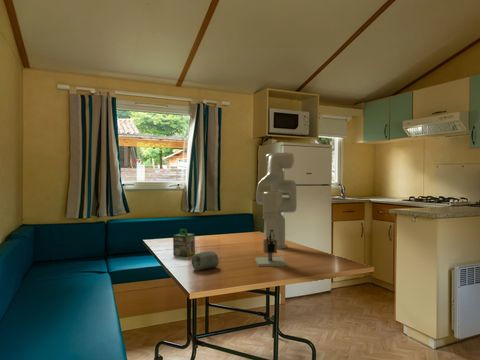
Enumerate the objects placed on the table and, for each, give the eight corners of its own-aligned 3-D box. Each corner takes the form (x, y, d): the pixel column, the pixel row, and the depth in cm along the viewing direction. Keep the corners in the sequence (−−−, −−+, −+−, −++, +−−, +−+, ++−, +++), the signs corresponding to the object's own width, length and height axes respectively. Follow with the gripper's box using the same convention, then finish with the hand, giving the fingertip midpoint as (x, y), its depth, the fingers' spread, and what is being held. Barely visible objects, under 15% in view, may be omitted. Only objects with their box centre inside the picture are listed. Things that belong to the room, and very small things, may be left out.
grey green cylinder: (196, 266, 154) (197, 245, 159) (187, 272, 161) (188, 251, 166) (222, 270, 161) (222, 249, 166) (213, 275, 168) (213, 255, 173)
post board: (255, 259, 182) (255, 244, 182) (281, 259, 183) (281, 244, 183) (258, 266, 168) (258, 249, 168) (286, 265, 169) (286, 249, 169)
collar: (263, 250, 178) (263, 239, 178) (274, 250, 179) (274, 239, 179) (265, 253, 172) (265, 241, 172) (276, 253, 173) (276, 241, 173)
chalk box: (195, 253, 197) (195, 228, 197) (186, 257, 188) (186, 230, 188) (182, 252, 201) (182, 227, 201) (172, 255, 192) (172, 229, 192)
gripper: (260, 214, 184) (260, 247, 184) (265, 217, 167) (265, 254, 167) (274, 214, 185) (274, 247, 184) (280, 217, 167) (280, 254, 167)
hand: (270, 250), depth 176 cm, fingers closed on collar, 6 cm apart
